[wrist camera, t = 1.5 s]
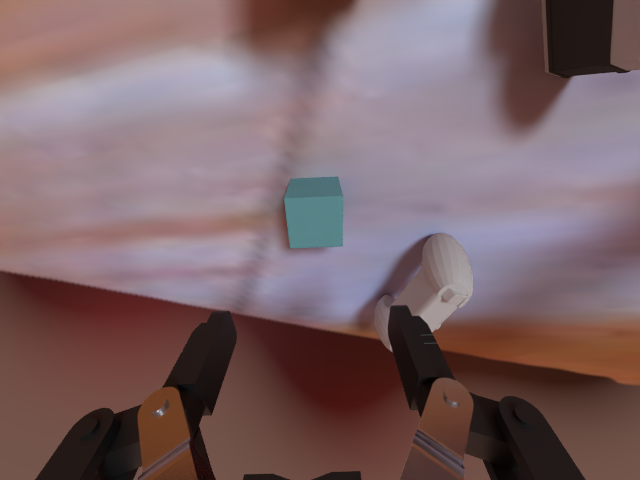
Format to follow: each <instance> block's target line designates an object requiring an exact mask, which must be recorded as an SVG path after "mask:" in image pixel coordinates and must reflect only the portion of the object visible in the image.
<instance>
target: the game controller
mask: <svg viewBox="0 0 640 480" xmlns="http://www.w3.org/2000/svg"><path fill="white" fill-rule="evenodd" d="M472 294H473V275H472V270H471V267H470V264H469V261H468V258H467V256H466V253H465V251H464V249H463V247H462V246H461V244H460V243H459V242H458V241H457V240H456V239H455V238H453V237H452V236H451V235H448V234H445V233H437V234H434V235H432V236H431V237H430V238H429V239H428V240H427V241H426V243H425V245H424V247H423V251H422V268H421V270H420V271H419V272H418V273H417V274H416V276H415V277H414V278H413V279H412V280H411V282H410V283H409V284H408V285H407V286H406V288H405V289H404V290H403V291H402V292H401V294H400V295H399V296H398V297H397V298H396V300H395V299H394V298H393V297H391V296H389V295H387V294H385V295H384V296H383V297H382V298H381V299H380V300H379V301H378V302H377V305H376V307H375V313H374V321H375V326H376V330H377V333H378V335H379V337H380V339H381V341H382V342H383V344H384V345H385V346H386V347H387V348H388V349H389V350H390V351H392V348H391V344H390V341H389V337H388V320H389V313H390V307H391V305H407V306H408V307H409V310H410V312H411V314H412V316H420V317H421V318H422V319H423V320H424V321H425V322H426V323H427V324H428V326H429V328H430V330H431V332H433V331H434V330H437V329H439V328H440V326H441V323H442V322H443V321H445V320H446V319H447V318H448V317H449V316H450V315H451V314H452V313H453V312H454V311H455V310H456V309H457V308H458V307H459V308H462V307H463V306H464V305H465V304H466V303H467V302H468V300H469V299H470V297H471V295H472ZM392 352H393V351H392Z"/></svg>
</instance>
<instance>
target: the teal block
mask: <svg viewBox="0 0 640 480" xmlns="http://www.w3.org/2000/svg"><path fill="white" fill-rule="evenodd" d="M284 203H285V211H286V219H287V227H288V236H289V244H290V248H313V247H338V246H343V195H342V191H341V187H340V183H339V179H338V177H321V178H299V179H291V180H290V183H289V186H288V188H287V191H286V194H285V197H284Z"/></svg>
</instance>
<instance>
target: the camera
mask: <svg viewBox="0 0 640 480" xmlns="http://www.w3.org/2000/svg"><path fill="white" fill-rule="evenodd" d="M541 5H542V24H543V44H544V63H545V72H547V73H549V74H552V75H554V76H557V77H562V78H568V77H571V76H577V75H587V74H598V73H609V72H617V73H627V72H629V71H631V70H640V0H541Z"/></svg>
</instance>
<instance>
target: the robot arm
mask: <svg viewBox="0 0 640 480" xmlns="http://www.w3.org/2000/svg"><path fill="white" fill-rule="evenodd" d="M388 337H389V341H390V344H391V348H392V351H393V354H394V358H395V361H396V364H397V368H398V371H399V374H400V377H401V381H402V385H403V388H404V391H405V394H406V398H407V401H408V405H409V408H410V410H418V411H419V414H420V417H421V420H420V423H419V426H418V429H417V432H416V434H415V437H414V440H413V443H412V446H411V449H410V452H409V455H408V457H407V460H406V463H405V466H404V469H403V472H402V475H401V478H400V480H463V479H464V467H463V460H464V455H465V453H466V454H469V455H472V456H475V457H477V458H480V459H483V462H484V464H485V467H486V469H487V472H488V474H489V476H490V479H491V480H585V478H584V477H583V475H582V474H581V472H580V471H579V469H578V468H577V466H576V465H575V463H574V462H573V460H572V458H571V457H570V455H569V454H568V453H567V451H566V449H565V448H564V446H563V445H562V444H561V442H560V440H559V439H558V437H557V436H556V434H555V433H554V431H553V430H552V428H551V427H550V425H549V424H548V422H547V421H546V419H545V418H544V416H543V415H542V414H541V413H540V411H539V410H538V409H537V408H535V407H534V406H533V405H532V404H530V403H529V402H527V401H525V400H523V399H521V398H518V397H514V396H507V397H504V398H502V399H501V401H500V402H498V401H494V400H490V399H487V398H484V397H481V396H477V395H475V394H472V393H470V392H469V391H468V390H467V389H466V388H465V387H464V386H463V385H462V384H460V383H459V382H457V381H456V379H455V378H454V376H453V375H452V373H451V370H450V368H449V367H448V365H447V362H446V360H445V358H444V356H443V354H442V352H441V350H440V348H439V346H438V344H437V342H436V340H435V338H434V336H433V334H432V332H431V330H430V328H429V326H428V324H427V323H426V322H425V321H424V320H423V319H422V318H421V317H420V316H412V314H411V312H410V310H409V307H408V306H407V305H391V307H390V313H389V320H388ZM236 339H237V333H236V329H235V326H234V323H233V319H232V316H231V313H230V312H229V311H215V312H212V314H211V315H210V317H209V319H208V321H207V323H201V324H200V325H199V326H198V327H197V328H196V329H195V330H194V331H193V332H192V334H191V336H190V338H189V340H188V341H187V344H186V345H185V347H184V349H183V352H182V353H181V354H180V356H179V358H178V360H177V362H176V364H175V366H174V367H173V370H172V371H171V373H170V375H169V377H168V379H167V380H166V382H165V384H164V386H163V387H162V388H161V389H159V390H157V391H155V392H154V393H152V394H151V395H150V396H149V397H148V398H147V399H146V400H145V401H144V402H143V404H141V405H139V406H136V407H133V408H130V409H128V410H125V411H122V412H119V413H116V414H114V413H113V411H112V410H111V409H109V408H101V409H97V410H94V411H92V412H90V413H89V414H87V415H85V416H84V417H83V418H82V419H80V420H79V421H78V422H77V423H76V424H75V425H74V426H73V427H72V428H71V430H70V431H69V432H68V434H67V435H66V436H65V438H64V439H63V441H62V442H61V444H60V445H59V446H58V448H57V450H56V451H55V452H54V454H53V455H52V456H51V458H50V459H49V461H48V462H47V464H46V465H45V467H44V468H43V470H42V471H41V472H40V474H39V475H38V477H37V478H36V479H35V480H133V479H134V477H135V474H136V472H137V470H138V468H139V467H141V466H142V468H143V472H142V475H141V476H139V478H138V480H216V478H215V476H214V474H213V471H212V468H211V464H210V461H209V457H208V454H207V451H206V448H205V444H204V441H203V437H202V434H201V430H200V427H199V424H200V421H201V418H202V416H203V415H212V413H213V410H214V407H215V404H216V401H217V398H218V395H219V392H220V389H221V386H222V383H223V380H224V377H225V374H226V371H227V368H228V365H229V362H230V359H231V356H232V353H233V350H234V347H235V344H236ZM243 480H289V479H286V478H283V477H280V476H278V475H275V474H250V475H249V474H246V475H244V478H243ZM313 480H361V473H360V471H353V472H331V473H328V474H325V475H323V476H320V477H318V478H315V479H313Z"/></svg>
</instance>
